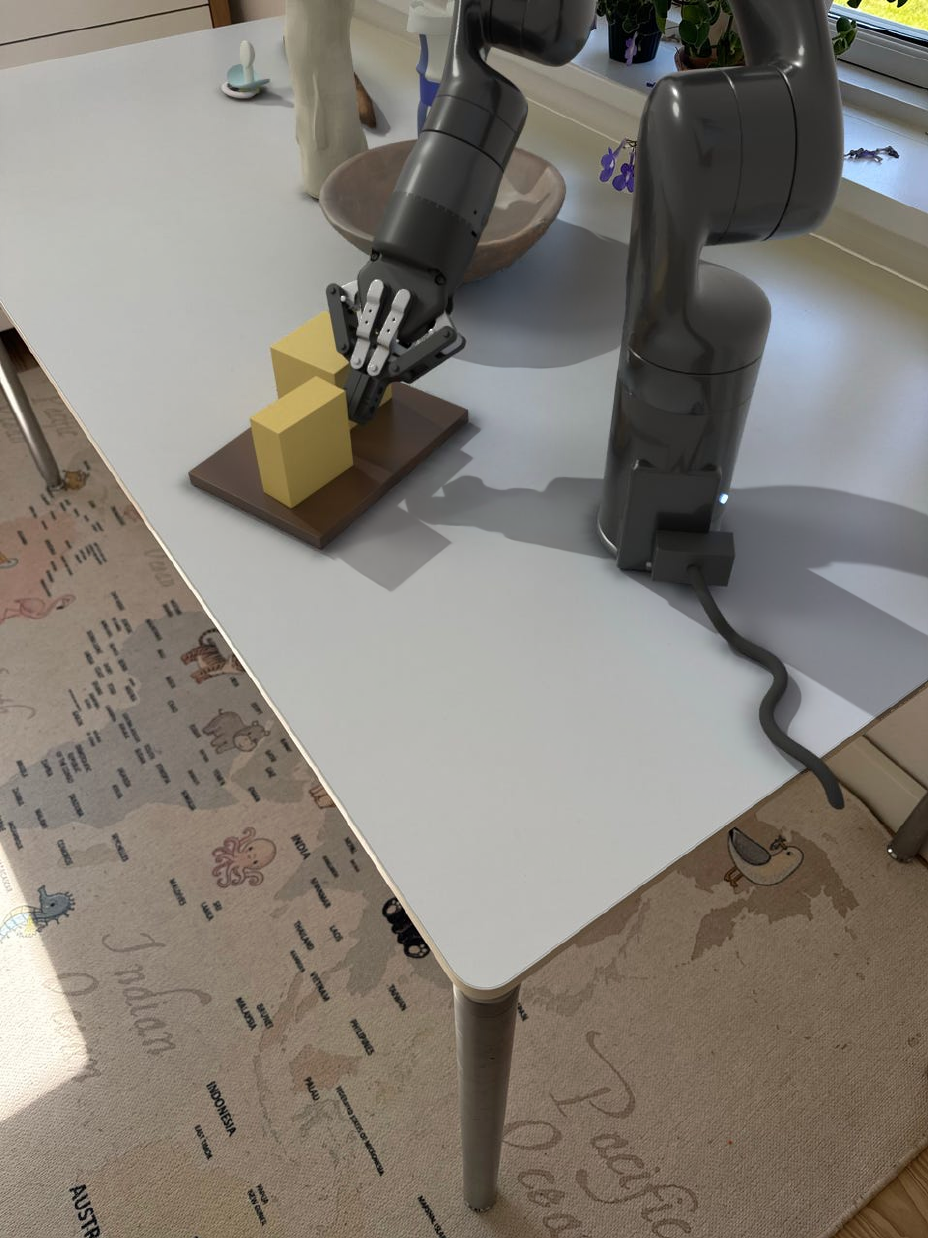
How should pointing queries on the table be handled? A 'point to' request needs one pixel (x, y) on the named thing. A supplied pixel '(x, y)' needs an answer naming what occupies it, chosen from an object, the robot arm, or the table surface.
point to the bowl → (513, 224)
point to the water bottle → (430, 52)
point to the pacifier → (244, 75)
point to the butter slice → (302, 441)
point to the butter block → (311, 358)
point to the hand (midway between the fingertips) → (351, 420)
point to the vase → (323, 87)
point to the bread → (363, 103)
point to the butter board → (378, 464)
